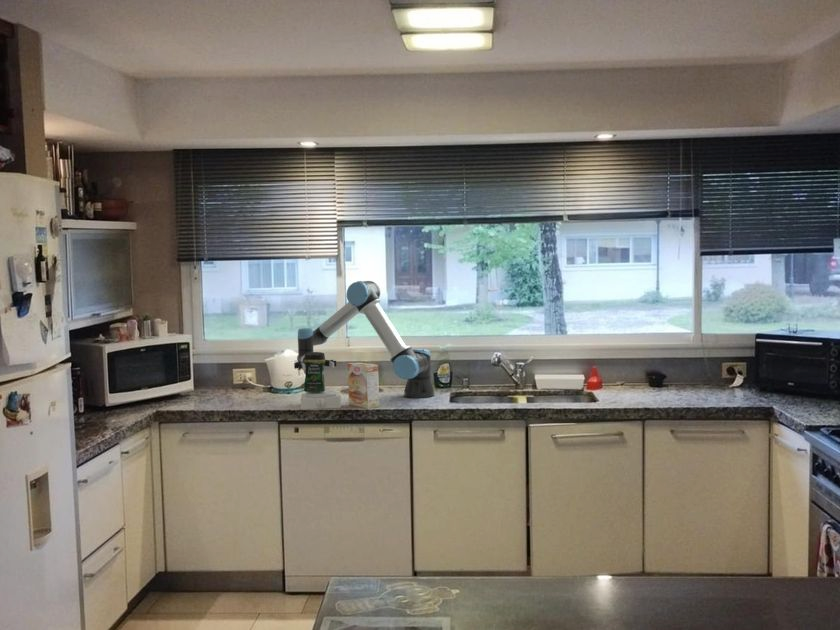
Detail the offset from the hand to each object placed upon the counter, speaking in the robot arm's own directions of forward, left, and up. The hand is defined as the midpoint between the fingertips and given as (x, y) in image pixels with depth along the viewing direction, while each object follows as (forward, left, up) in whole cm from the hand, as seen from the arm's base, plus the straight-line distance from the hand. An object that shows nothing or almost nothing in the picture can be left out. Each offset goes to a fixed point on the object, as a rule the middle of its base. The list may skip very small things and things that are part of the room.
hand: (319, 366), depth 356 cm
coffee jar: (+1, +2, -12) cm, 12 cm away
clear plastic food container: (-1, +1, -18) cm, 18 cm away
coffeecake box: (-19, -8, -19) cm, 28 cm away
